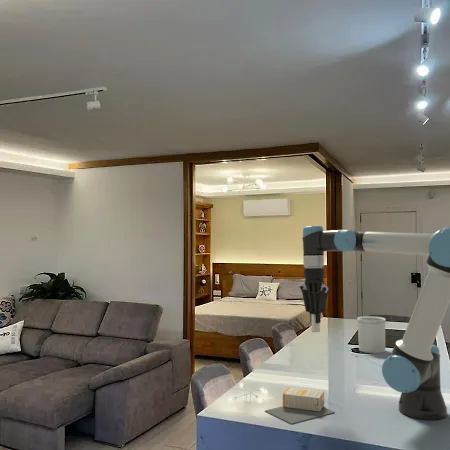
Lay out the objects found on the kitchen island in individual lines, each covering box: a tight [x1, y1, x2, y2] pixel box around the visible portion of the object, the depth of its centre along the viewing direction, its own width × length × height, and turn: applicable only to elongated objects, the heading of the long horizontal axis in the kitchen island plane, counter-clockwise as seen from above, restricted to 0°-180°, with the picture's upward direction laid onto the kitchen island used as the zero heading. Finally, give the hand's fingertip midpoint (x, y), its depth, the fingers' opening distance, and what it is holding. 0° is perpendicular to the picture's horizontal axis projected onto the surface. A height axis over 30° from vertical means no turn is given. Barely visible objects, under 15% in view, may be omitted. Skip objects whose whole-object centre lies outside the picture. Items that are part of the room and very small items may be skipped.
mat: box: [264, 405, 335, 425], centre depth 157 cm, size 14×19×1 cm
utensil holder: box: [356, 315, 386, 354], centre depth 252 cm, size 15×15×18 cm
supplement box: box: [282, 387, 325, 411], centre depth 162 cm, size 8×5×13 cm
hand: (315, 331), depth 169 cm, fingers closed
